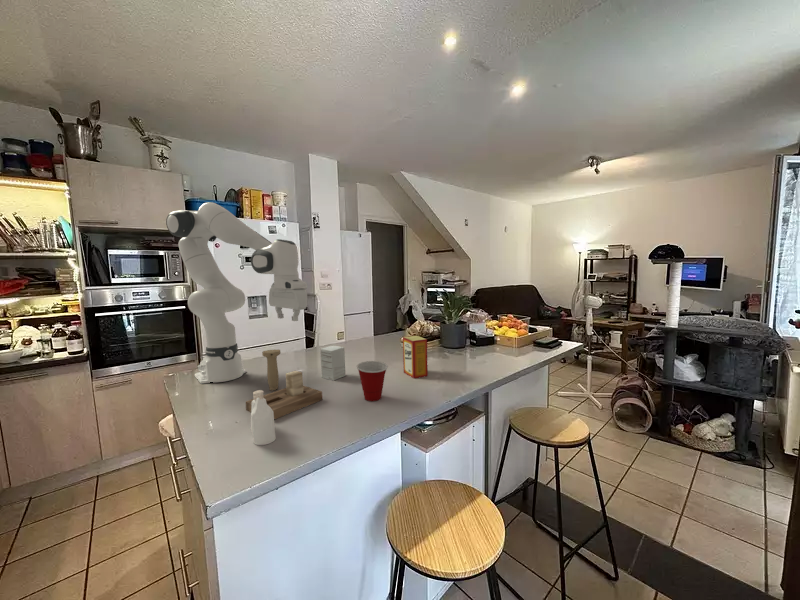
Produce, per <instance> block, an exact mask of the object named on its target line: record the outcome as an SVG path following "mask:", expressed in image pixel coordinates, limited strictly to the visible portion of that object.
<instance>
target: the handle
mask: <svg viewBox="0 0 800 600" xmlns="http://www.w3.org/2000/svg"><path fill="white" fill-rule="evenodd" d="M280 354H281V349H267V350H263V351H262V356H263V357H264V358H266V360H267V362H266V363H267V366H266V367H267V368H266V369H267V370H266V371H267V372H266V375H267V376H266V377H267V378H266V379H267V384H268V388H269V391H273V390H274V391H277V390H279V381H280V380H279V379H280V378H279V369H278V362H277V361H278V360H277V357H278V356H280ZM276 389H277V390H276Z"/></svg>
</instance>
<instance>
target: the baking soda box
mask: <svg viewBox="0 0 800 600" xmlns="http://www.w3.org/2000/svg"><path fill="white" fill-rule="evenodd" d="M402 359H403V360H402V362H403V373H404V374H406V375H407V376H409V377H410V376H411V377H410V378H412V379H419V377H420V378H424V376H425V377H428V374H429V373H428V339H427V338H424V337H422V336H419V335H409V336H402Z"/></svg>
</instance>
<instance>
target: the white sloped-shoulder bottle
mask: <svg viewBox="0 0 800 600" xmlns="http://www.w3.org/2000/svg"><path fill="white" fill-rule="evenodd" d="M251 423H252V431H251V434H252V439H253V440H252V441H253V444H254V445H255V446H265V445H269V444H271V443H273V442H274V441H275V440H276V427H275V420H274V412H273V410H272V409H271V408H270V407H269V406H268V405H267V403H265V402H264V401H262V400H261V399H260V398H257V399H256V404H255V407H254V409H253V411H252V413H251V412H250V424H251Z"/></svg>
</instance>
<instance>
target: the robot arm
mask: <svg viewBox="0 0 800 600" xmlns="http://www.w3.org/2000/svg"><path fill="white" fill-rule="evenodd" d="M165 221H166V222H165V224H166V227H167V230H168V233H170V234H171V235H172V236H174V237H178V238H180V239H179V240H178V245H177V246H178V248H179V253H180V256H181V259H182V262H183V264H184V266H185V269H186V270H187V273H188V274H189V277H190V278H191V280H192V281H193V283H196V284H197V285H199V286H200V287H202V289H199V290H196V291H193V292H191V293H190V295H189V296H188V298H187V307H188V309H189V311H190V312H191V313H192V314H193V315H195V316H196V317H198V319H199V320H200V321H201V324H202V325H203V327H204V331H205V338H206V347H205V356H204V357H203V359H201V361H200V363H199V365H197V367H196V368H197V371H198V372H196V373H194V377H195V378H196V379H198V380H197V381H198V382H199V384H209V383H210V382H213V383H222V382H223V383H224V382H228V381H232V380H237V379H238V378H240V377H242V376H243V375H244V374H245V373H246V372H247V370H246V368H244V367H243V366H244V365H243V360H242V355H241V354H240V353H238V352H239V346H238V343H237V336H236V327H235V325H234V324H233V323H231V322H229V320H228V318H227V316H226V313H231V312H235V311H236V310H238V309H241V308H242V307H243V306H244V305H245V302H246V295H245V293H244V291H243V290H242V289H240V288H238V287H237V286H235V285H234V284H233V283H231V282H230V281H229V280H228V278H226V276H225V275H224V274H223V272H222V271H221V268H219V266H218V263H217V262H216V259H215V258H214V256H213V254H212V252H211V250H210V248H209V245H208V244H209V242H212V243H213V242H215V241H216V240H217V239H219V241H222V242H224V243H225V244H229V245H235V246H240V247H241V246H242V247H247V248H249V249H253V250H255V251H254V252H253V253H252V255H251V257H250V265H251V267H252V269H253V271H255V272H256V273H258V274H260V275H273V283H272V284H271V285H270V288H269V291H268V293H269V294H268V304H269V306H271V307H275V312H276V314H277V319H280V320H281V319H284V313H283V309H290V310H292V312H293V315H291V321H292V322H297V321H299V315H300V313H301V310H306V309H307V307H308V292H307V290H306V289H308V283H307V281H304V280H303V279H301V278H300V277H299V275H300V274H299V271H298V267H299V253H298V247H297V244H296V243H295V242H293V241H291V240H287V239H280V238H279V239H275V240H274V241H273V242H271V241H270V240H268V239H267V238H266V237H265V236H263V235H261V234H260V233H258V232H256V230H254V229H252V227H249V226H248V225H247V224H245V222H243V221H242V220H241V219H239V218H238V217H236V216H235V215H234V214H233V212H231V211H229V210H228V209H227V208H225V207H224V206H221V205H219V204H217V203H215V202H212V201H211V202H209V201H208V202H204V203H202V204H201V205H200V206H199V208H198V210H184V209H180V210H174V211H171V212H170V213H168V215H167V217H166V219H165Z"/></svg>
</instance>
